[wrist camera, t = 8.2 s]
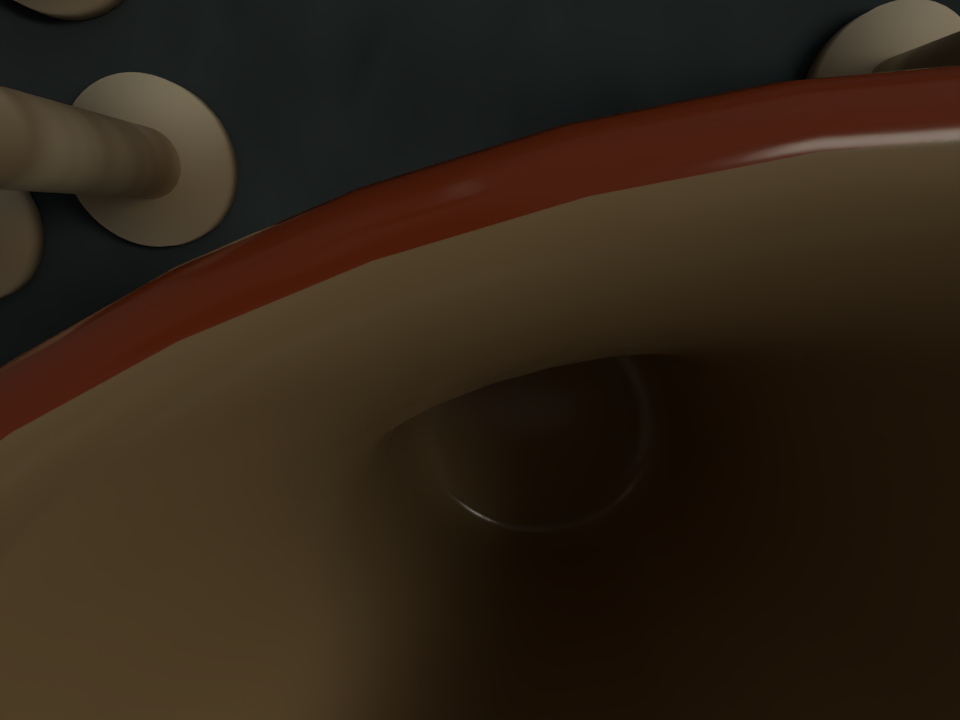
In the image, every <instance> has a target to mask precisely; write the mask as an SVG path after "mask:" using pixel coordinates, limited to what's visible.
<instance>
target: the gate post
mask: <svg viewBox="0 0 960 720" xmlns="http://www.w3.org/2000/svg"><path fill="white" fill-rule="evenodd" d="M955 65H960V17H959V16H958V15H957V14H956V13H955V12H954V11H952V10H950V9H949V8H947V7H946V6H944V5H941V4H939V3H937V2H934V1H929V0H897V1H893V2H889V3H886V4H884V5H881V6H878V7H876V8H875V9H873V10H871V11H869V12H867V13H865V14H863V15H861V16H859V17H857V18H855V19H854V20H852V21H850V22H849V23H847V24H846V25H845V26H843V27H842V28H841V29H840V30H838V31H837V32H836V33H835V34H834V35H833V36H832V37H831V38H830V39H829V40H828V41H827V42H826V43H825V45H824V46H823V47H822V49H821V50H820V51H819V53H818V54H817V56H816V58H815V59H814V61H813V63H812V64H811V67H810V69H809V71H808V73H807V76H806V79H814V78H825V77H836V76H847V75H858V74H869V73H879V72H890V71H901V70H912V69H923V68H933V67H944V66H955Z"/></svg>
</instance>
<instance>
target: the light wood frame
mask: <svg viewBox="0 0 960 720" xmlns="http://www.w3.org/2000/svg"><path fill="white" fill-rule="evenodd" d="M14 1H16V2H18V3H20V4H22V5H24V6H26V7H28V8H31V9H33V10H35V11H37V12H39V13H41V14H44V15H47V16H50V17H52V18H57V19H62V20H72V21H78V20H88V19H92V18H96V17H99V16H101V15H103V14H106V13H108V12H109V11H111V10H112V9H114V8H116V7H117V6H118V5H119V4H120V3H121V2H122V1H124V0H14ZM237 179H238V172H237V161H236V156H235V152H234V148H233V145H232V142H231V140H230V138H229V135H228V133H227V131H226V129H225V128H224V126H223V124H222V123H221V121H220V120H219V118H218V117H217V116H216V114H215V113H214V112H213V111H212V110H211V109H210V108H209V107H208V106H207V104H206V103H204V102H203V101H202V100H201V99H200V98H198V97H197V96H196V95H194V94H193V93H191V92H190V91H188V90H187V89H185V88H183V87H181V86H179V85H177V84H174V83H172V82H170V81H168V80H165V79H163V78H160V77H157V76H154V75H150V74H145V73H135V72H128V73H118V74H114V75H110V76H107V77H105V78H102V79H100V80H98V81H96V82H95V83H93V84H91V85H90V86H89V87H88V88H86V89H85V90H84V91H83V92H82V93H81V94H80V95H79V97H78V98H77V99H76V100H75V102H74V103H73V105H72V106H71V105H67V104H64V103H60V102H56V101H53V100H49V99H46V98H42V97H38V96H35V95H31V94H28V93H24V92H21V91H17V90H13V89H10V88H6V87H3V86H0V298H4V297H7V296H10V295H12V294H14V293H16V292H17V291H19V290H21V289H22V288H23V287H24V286H26V285H27V284H28V283H29V282H30V280H31V279H32V278H33V277H34V275H35V274H36V272H37V270H38V268H39V266H40V263H41V260H42V256H43V252H44V230H43V223H42V220H41V216H40V213H39V210H38V208H37V206H36V203H35V201H34V199H33V198H32V196H31V194H30V192H29V191H32V192H49V193H66V194H76V196H77V198H78V199H79V201H80V202H81V204H82V205H83V206H84V208H85V209H86V210H87V211H88V212H89V214H90V215H91V216H92V217H93V218H94V219H95V220H97V221H98V222H99V223H100V224H101V225H102V226H104V227H105V228H106V229H108V230H109V231H111V232H112V233H114V234H116V235H117V236H119V237H121V238H124V239H126V240H128V241H131V242H134V243H137V244H142V245H147V246H159V247H161V246H173V245H182V244H187V243H191V242H194V241H196V240H199V239H201V238H203V237H204V236H206V235H208V234H209V233H210V232H212V231H213V230H214V229H216V227H217V226H218V225H219V224H220V223H221V222H222V221H223V220H224V218H225V217H226V215H227V214H228V212H229V210H230V208H231V206H232V203H233V200H234V197H235V194H236V189H237Z"/></svg>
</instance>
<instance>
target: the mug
mask: <svg viewBox="0 0 960 720" xmlns="http://www.w3.org/2000/svg"><path fill="white" fill-rule="evenodd" d="M0 720H960V65H955V66H944V67H933V68H923V69H912V70H901V71H890V72H879V73H869V74H858V75H847V76H836V77H825V78H814V79H804V80H793V81H782V82H775V83H770V84H765V85H760V86H755V87H750V88H745V89H740V90H735V91H730V92H725V93H720V94H715V95H710V96H705V97H700V98H695V99H690V100H685V101H680V102H675V103H670V104H665V105H660V106H655V107H650V108H645V109H640V110H635V111H630V112H625V113H620V114H615V115H610V116H605V117H600V118H595V119H590V120H585V121H580V122H575V123H570V124H565V125H560V126H557V127H554V128H551V129H547V130H544V131H541V132H538V133H534V134H531V135H528V136H525V137H521V138H518V139H515V140H512V141H509V142H505V143H502V144H499V145H496V146H492V147H489V148H486V149H483V150H480V151H476V152H473V153H470V154H467V155H463V156H460V157H457V158H454V159H451V160H447V161H444V162H441V163H438V164H434V165H431V166H428V167H425V168H421V169H418V170H415V171H412V172H409V173H405V174H402V175H399V176H396V177H392V178H389V179H386V180H383V181H380V182H376V183H373V184H370V185H367V186H363V187H360V188H357V189H355V190H353V191H350V192H348V193H346V194H343V195H341V196H339V197H336V198H334V199H332V200H329V201H327V202H325V203H323V204H320V205H318V206H316V207H313V208H311V209H309V210H306V211H304V212H302V213H299V214H297V215H295V216H292V217H290V218H288V219H285V220H283V221H281V222H278V223H276V224H274V225H271V226H269V227H267V228H264V229H262V230H260V231H257V232H255V233H253V234H250V235H248V236H246V237H243V238H241V239H239V240H236V241H234V242H232V243H229V244H227V245H225V246H222V247H220V248H218V249H215V250H213V251H211V252H209V253H206V254H204V255H202V256H199V257H197V258H195V259H192V260H190V261H188V262H185V263H183V264H181V265H178V266H176V267H174V268H173V269H171V270H169V271H167V272H165V273H164V274H162V275H160V276H158V277H157V278H155V279H153V280H151V281H150V282H148V283H146V284H144V285H143V286H141V287H139V288H137V289H136V290H134V291H132V292H130V293H129V294H127V295H125V296H123V297H122V298H120V299H118V300H116V301H115V302H113V303H111V304H109V305H107V306H106V307H104V308H102V309H100V310H99V311H97V312H95V313H93V314H92V315H90V316H88V317H86V318H85V319H83V320H81V321H79V322H78V323H76V324H74V325H72V326H71V327H69V328H67V329H65V330H64V331H62V332H60V333H58V334H56V335H55V336H53V337H51V338H49V339H48V340H46V341H44V342H42V343H41V344H39V345H37V346H35V347H34V348H32V349H30V350H28V351H27V352H25V353H23V354H21V355H20V356H18V357H16V358H15V359H13V360H11V361H10V362H8V363H6V364H5V365H3V366H1V367H0Z"/></svg>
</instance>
